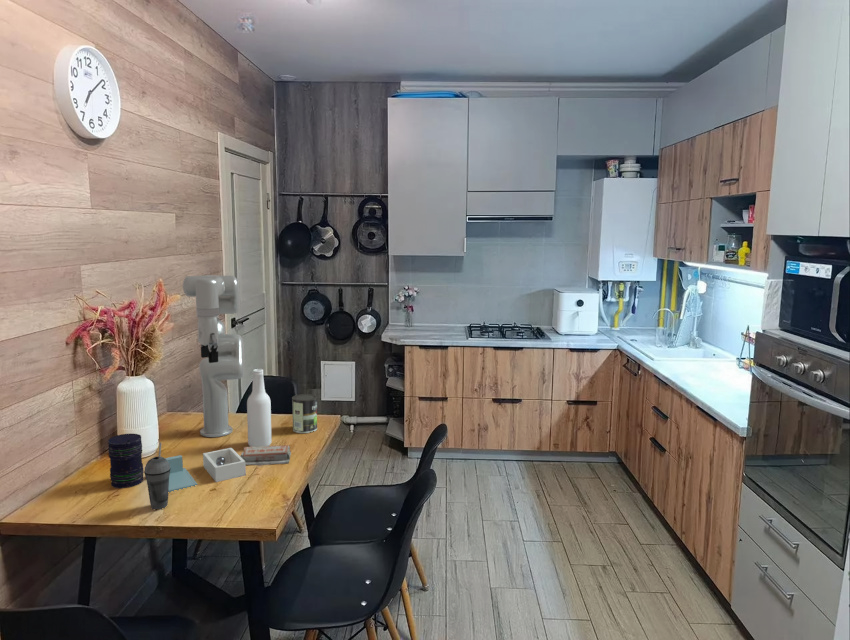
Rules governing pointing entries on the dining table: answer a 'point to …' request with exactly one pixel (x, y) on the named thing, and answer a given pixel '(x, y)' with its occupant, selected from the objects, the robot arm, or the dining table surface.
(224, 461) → the ball
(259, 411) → the alcohol
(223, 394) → the robot arm
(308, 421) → the coffee can
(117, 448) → the storage jar
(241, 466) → the tub
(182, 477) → the lid
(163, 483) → the beverage cup
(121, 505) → the dining table surface
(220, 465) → the ball
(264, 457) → the packaged product
